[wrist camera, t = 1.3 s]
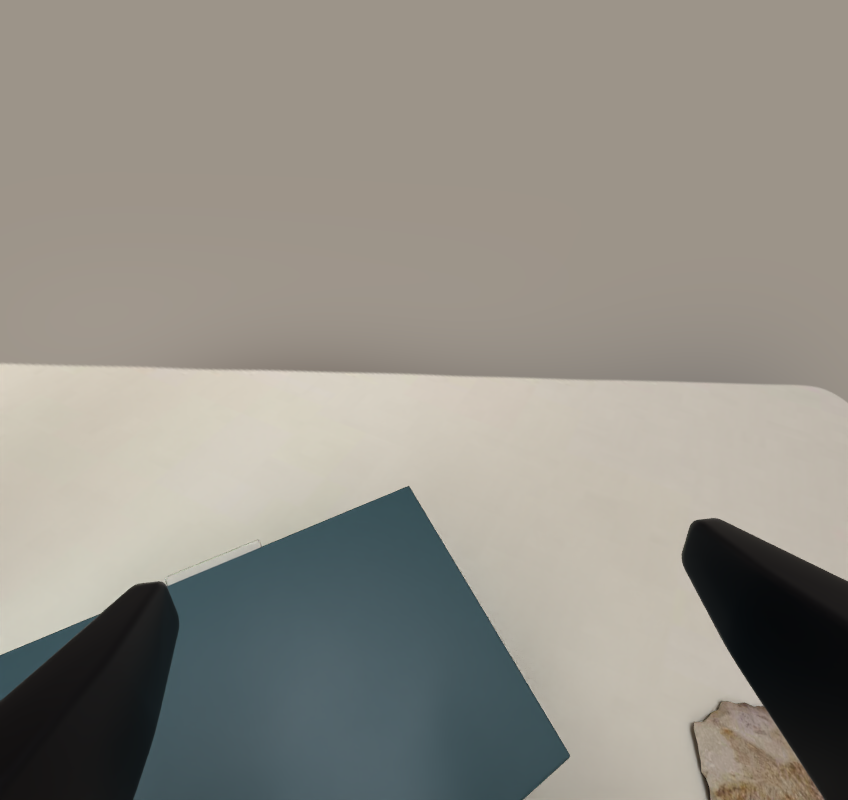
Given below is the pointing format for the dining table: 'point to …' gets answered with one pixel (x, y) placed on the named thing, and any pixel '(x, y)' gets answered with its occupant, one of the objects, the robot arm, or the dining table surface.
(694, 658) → the dining table surface
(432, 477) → the dining table surface
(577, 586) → the dining table surface
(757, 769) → the fish fossil
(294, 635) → the lunch box
